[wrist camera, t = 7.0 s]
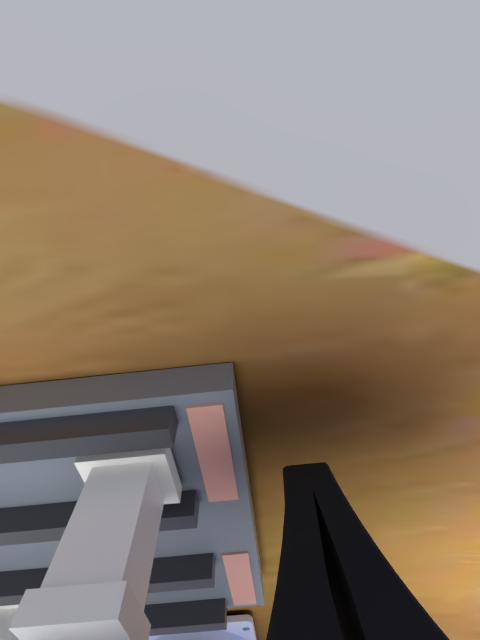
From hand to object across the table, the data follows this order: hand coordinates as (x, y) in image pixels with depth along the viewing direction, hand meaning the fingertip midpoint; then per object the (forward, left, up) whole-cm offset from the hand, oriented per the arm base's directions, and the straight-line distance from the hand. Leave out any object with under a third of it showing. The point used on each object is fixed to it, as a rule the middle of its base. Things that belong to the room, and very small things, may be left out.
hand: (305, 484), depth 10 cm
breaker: (0, +6, -1) cm, 6 cm away
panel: (-5, +11, -3) cm, 12 cm away
